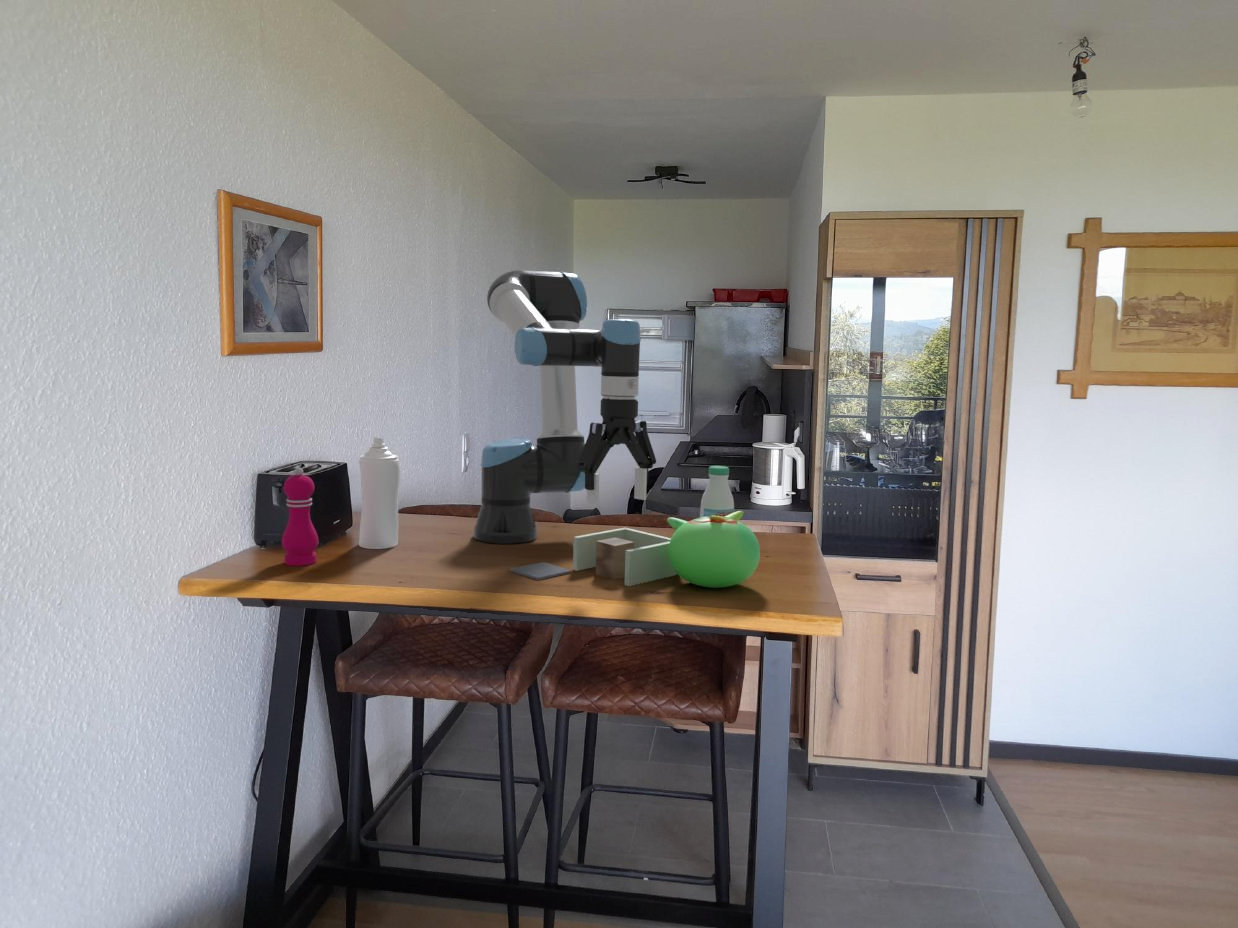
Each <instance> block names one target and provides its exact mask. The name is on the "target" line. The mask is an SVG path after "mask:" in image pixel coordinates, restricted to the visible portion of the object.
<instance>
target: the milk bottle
mask: <svg viewBox="0 0 1238 928" xmlns="http://www.w3.org/2000/svg"><path fill="white" fill-rule="evenodd" d="M729 474H730V468H729V467H728V466H726V465H724V466H723V465H711V466H709V467H708V477H709V480H708V483H707V486H706V488H705V490H704V492H703V494H702V497H701V501H700V510H699V517H704V516H708V517H710V516H722V517H725V516H727V515H729V514H731V513H734V512H735V503H734V502H735V501H734V496H733V494H732V491H731V489H730V485H729V481H728V480H729V477H730V475H729Z"/></svg>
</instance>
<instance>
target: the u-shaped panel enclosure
mask: <svg viewBox="0 0 1238 928" xmlns="http://www.w3.org/2000/svg"><path fill="white" fill-rule="evenodd" d="M615 537H616V538H620V539H624V540H628V541H632V542H634V549H630V550H626V552H625V577H624V586H626V585H628V586H627V587H631V586H630V585H633V586H636V585H635V584H637V585H641V584H644V583H643V582H645V583H649V582H652V581H656V579H657V580H660V579H664V577H665V578H668V577H673V576H677V575H678V574H677V573H676V572H675V570H674V569H673V567H672V565H671V562H670V559H669V543H670V540H671V538H672V537H666V536H663V535H657V534H654V533H649V532H646V531H641V530H638V529H633V528H628V527H622V528H615V529H609V530H604V531H603V530H602V531H600V532H593V533H587V534H582V535H577V536H573V544H572V545H573V547H572V550H573V551H572V553H573V554H572V555H573V556H572V570H573V571H582V570H586V569H591V568H596V541H599V540H605V539H610V538H615ZM648 581H649V582H648ZM640 583H641V584H640Z"/></svg>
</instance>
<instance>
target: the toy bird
mask: <svg viewBox="0 0 1238 928" xmlns="http://www.w3.org/2000/svg"><path fill="white" fill-rule="evenodd" d="M743 515H744V511H743V510H737V511H734V513H731V514H729V515H727V516H725V517H722V516H710V517H708V516H704V517H700V516H699V517H697V518H694V519H691V520H684V519H680V518H676V517H671V516H669V517H667V519H666V521H667V523H668V524H669V525H670V526H671V527H672V529H674V530H675V531H674V533H673V534H672V536H671V537H670V538H671V540H670V543H669V559H670V562H671V565H672V567H673V569H674V570H675V572H676V573H677V575H678V576H679V577H680V578H681V579H683V580H684V581H685V582H686V581H687V583H689V584H693V585H696V586H699V587H703V588H704V587H705V588H710V589H711V588H712V589H713V588H714V589H717V588H719V589H720V588H728V587H732V586H735V585H738V584H741V583H742V582H745V581H747V580H748V578H750V577H751V576H752V575H753V574H754V573H755V571H756V569H758V566H759V563H760V559H761V546H760V543H759V540H758V538H757V535H756V534H755V533H754V532H753V531H752V529H751V528H750V527H748V526H747V525H746V524H744V523H742V522H740V519H741V518H742V517H743Z"/></svg>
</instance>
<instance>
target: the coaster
mask: <svg viewBox="0 0 1238 928" xmlns="http://www.w3.org/2000/svg"><path fill="white" fill-rule="evenodd" d="M572 570H573V569H568V568H566V567H561V566H558V565H554V564H551V563H548V562H545V561H541V562H538V563H537V562H536V563H532V564H525V565H521V566H516V567H512V568H509V571H510V572H511V573H514V574H518V575H521V576H524V577H527V578H530V579H533V580H536V581H540V580H544V579H549V578H554V577H558V576H563V575H567V574H572V572H573V571H572Z"/></svg>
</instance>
